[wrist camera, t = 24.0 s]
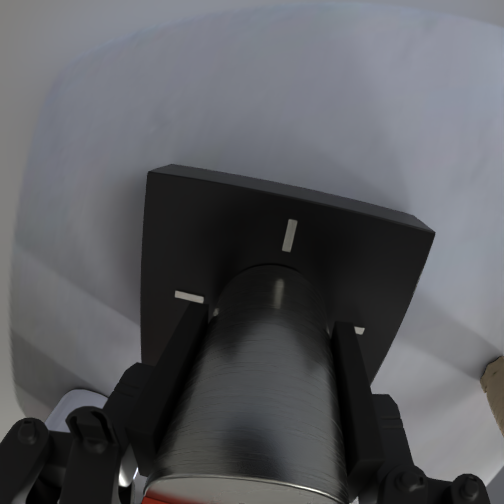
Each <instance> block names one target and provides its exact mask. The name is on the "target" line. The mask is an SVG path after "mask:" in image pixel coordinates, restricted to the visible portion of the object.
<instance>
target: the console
mask: <svg viewBox="0 0 504 504" xmlns="http://www.w3.org/2000/svg"><path fill="white" fill-rule="evenodd" d="M434 237H435V232H434V231H433V230H432V229H431V228H429V227H428V226H427V225H425V224H424V223H423V222H421V221H420V220H419V219H417V218H416V217H415V216H413V215H410V214H407V213H403V212H399V211H396V210H392V209H388V208H384V207H381V206H377V205H373V204H369V203H365V202H361V201H357V200H353V199H349V198H345V197H341V196H336V195H332V194H328V193H323V192H319V191H315V190H310V189H306V188H301V187H296V186H292V185H287V184H282V183H277V182H272V181H267V180H262V179H257V178H252V177H246V176H241V175H235V174H230V173H224V172H218V171H212V170H206V169H200V168H194V167H188V166H181V165H174V164H170V165H167V166H164V167H161V168H157V169H154V170H151V171H148V174H147V184H146V195H145V207H144V221H143V237H142V259H141V360H142V364H146V365H150V366H156V364H157V362H158V360H159V359H160V357H161V355H162V353H163V351H164V349H165V347H166V346H167V344H168V342H169V340H170V338H171V336H172V334H173V333H174V331H175V329H176V327H177V325H178V323H179V322H180V320H181V318H182V316H183V314H184V312H185V311H186V309H187V307H188V305H189V303H190V302H191V301H192V302H198V303H204V304H209V316H208V324H209V322H210V319H211V317H212V314H213V312H214V309H215V307H216V305H217V302H218V300H219V297H220V295H221V293H222V291H223V289H224V287H225V286H226V284H227V283H228V282H229V281H230V280H231V279H232V278H233V277H235V276H236V275H237V274H239V273H241V272H242V271H245V270H247V269H249V268H253V267H256V266H262V265H278V266H283V267H287V268H290V269H293V270H296V271H298V272H300V273H301V274H303V275H304V276H306V277H307V278H308V279H310V280H311V281H312V282H313V283H314V285H315V286H316V287H317V288H318V290H319V292H320V294H321V296H322V298H323V301H324V306H325V311H326V317H327V323H328V329H329V335H330V338H331V335H332V331H333V327H334V324H335V321H340V322H350V323H353V324H354V328H355V331H356V335H357V338H358V342H359V346H360V349H361V353H362V357H363V360H364V364H365V368H366V372H367V376H368V380H369V384H370V386H371V384H372V382H373V380H374V378H375V376H376V374H377V372H378V370H379V368H380V367H381V365H382V363H383V361H384V359H385V357H386V355H387V353H388V351H389V348H390V346H391V344H392V342H393V340H394V338H395V336H396V334H397V331H398V329H399V327H400V325H401V323H402V320H403V318H404V316H405V313H406V311H407V309H408V306H409V304H410V302H411V299H412V297H413V294H414V292H415V289H416V287H417V284H418V282H419V279H420V276H421V274H422V271H423V268H424V266H425V263H426V260H427V257H428V254H429V252H430V249H431V246H432V243H433V240H434Z"/></svg>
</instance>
